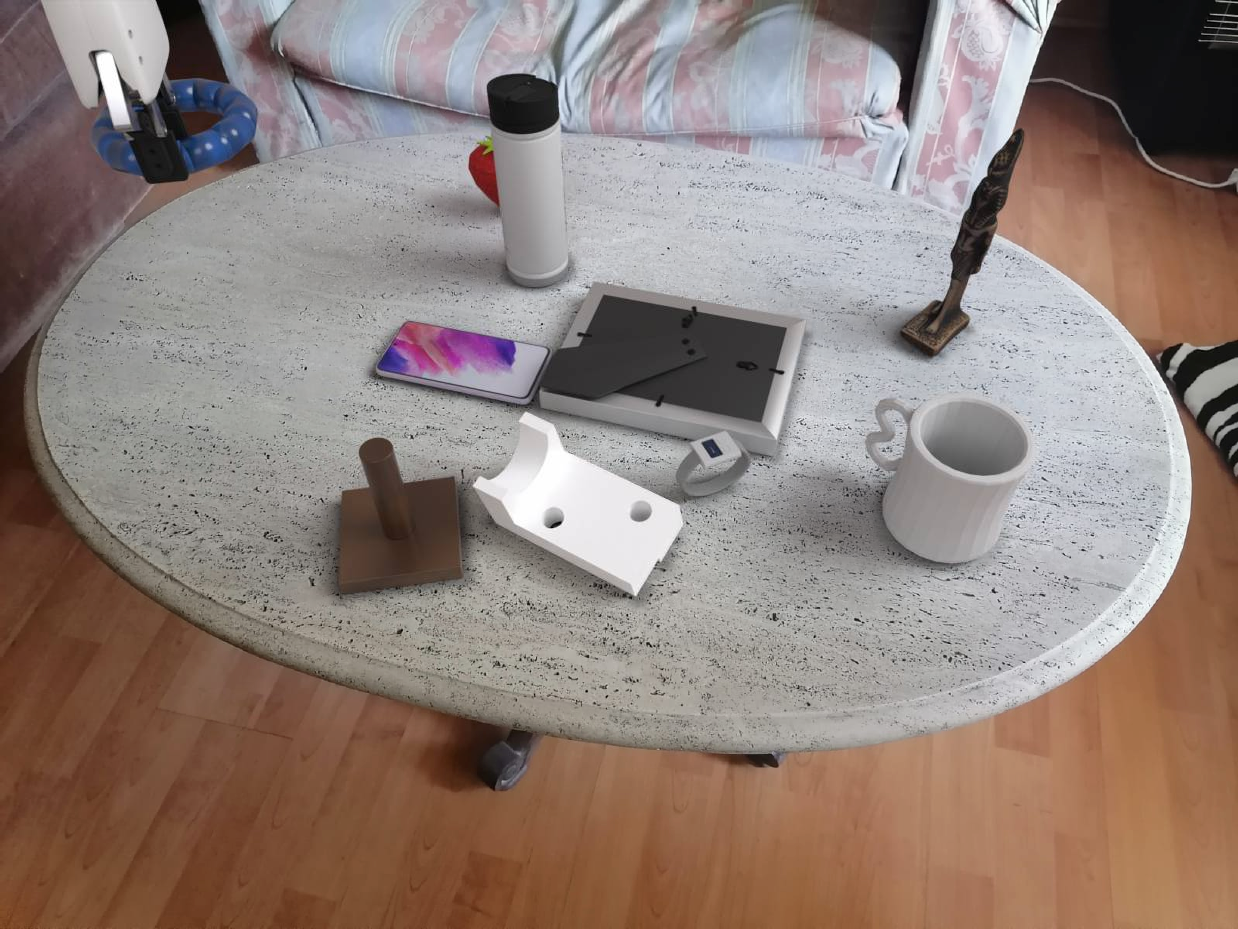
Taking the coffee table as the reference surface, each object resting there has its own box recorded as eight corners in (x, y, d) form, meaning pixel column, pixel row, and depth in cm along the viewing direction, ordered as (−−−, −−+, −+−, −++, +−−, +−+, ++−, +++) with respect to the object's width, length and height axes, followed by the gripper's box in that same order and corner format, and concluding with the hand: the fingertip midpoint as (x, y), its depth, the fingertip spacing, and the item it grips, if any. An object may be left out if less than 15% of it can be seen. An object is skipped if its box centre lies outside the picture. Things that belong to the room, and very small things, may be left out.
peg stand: (342, 594, 71) (306, 507, 63) (345, 502, 77) (313, 411, 69) (463, 578, 72) (442, 490, 64) (457, 487, 78) (437, 396, 70)
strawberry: (484, 191, 106) (473, 106, 98) (549, 199, 105) (543, 115, 97) (466, 221, 102) (453, 136, 95) (533, 230, 101) (525, 145, 93)
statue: (894, 341, 89) (949, 148, 74) (934, 305, 92) (993, 113, 77) (933, 362, 87) (998, 167, 72) (972, 324, 91) (1041, 131, 75)
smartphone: (528, 401, 83) (371, 369, 86) (529, 408, 84) (374, 376, 86) (554, 346, 87) (405, 317, 90) (555, 353, 88) (406, 324, 91)
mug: (1020, 522, 75) (1064, 436, 67) (954, 589, 71) (993, 506, 63) (891, 439, 81) (918, 351, 73) (823, 496, 77) (844, 409, 69)
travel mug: (492, 274, 96) (467, 85, 81) (534, 243, 100) (518, 56, 84) (539, 298, 94) (522, 107, 78) (581, 265, 97) (572, 76, 82)
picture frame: (540, 408, 84) (773, 456, 80) (538, 385, 82) (777, 434, 78) (594, 298, 94) (804, 336, 90) (593, 274, 91) (808, 313, 87)
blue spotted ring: (86, 191, 74) (72, 161, 72) (114, 109, 82) (102, 80, 80) (255, 174, 75) (245, 144, 73) (265, 95, 84) (257, 67, 82)
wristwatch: (736, 464, 79) (742, 423, 75) (752, 487, 78) (759, 446, 74) (669, 487, 78) (671, 446, 74) (684, 512, 76) (687, 471, 72)
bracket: (499, 528, 76) (472, 486, 70) (546, 458, 79) (525, 411, 72) (637, 601, 72) (622, 563, 65) (683, 524, 74) (673, 480, 67)
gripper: (36, -125, 66) (138, 120, 80) (-26, -31, 56) (104, 233, 70) (148, -132, 67) (230, 112, 81) (108, -41, 57) (210, 222, 70)
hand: (171, 166), depth 75 cm, fingers closed on blue spotted ring, 2 cm apart
